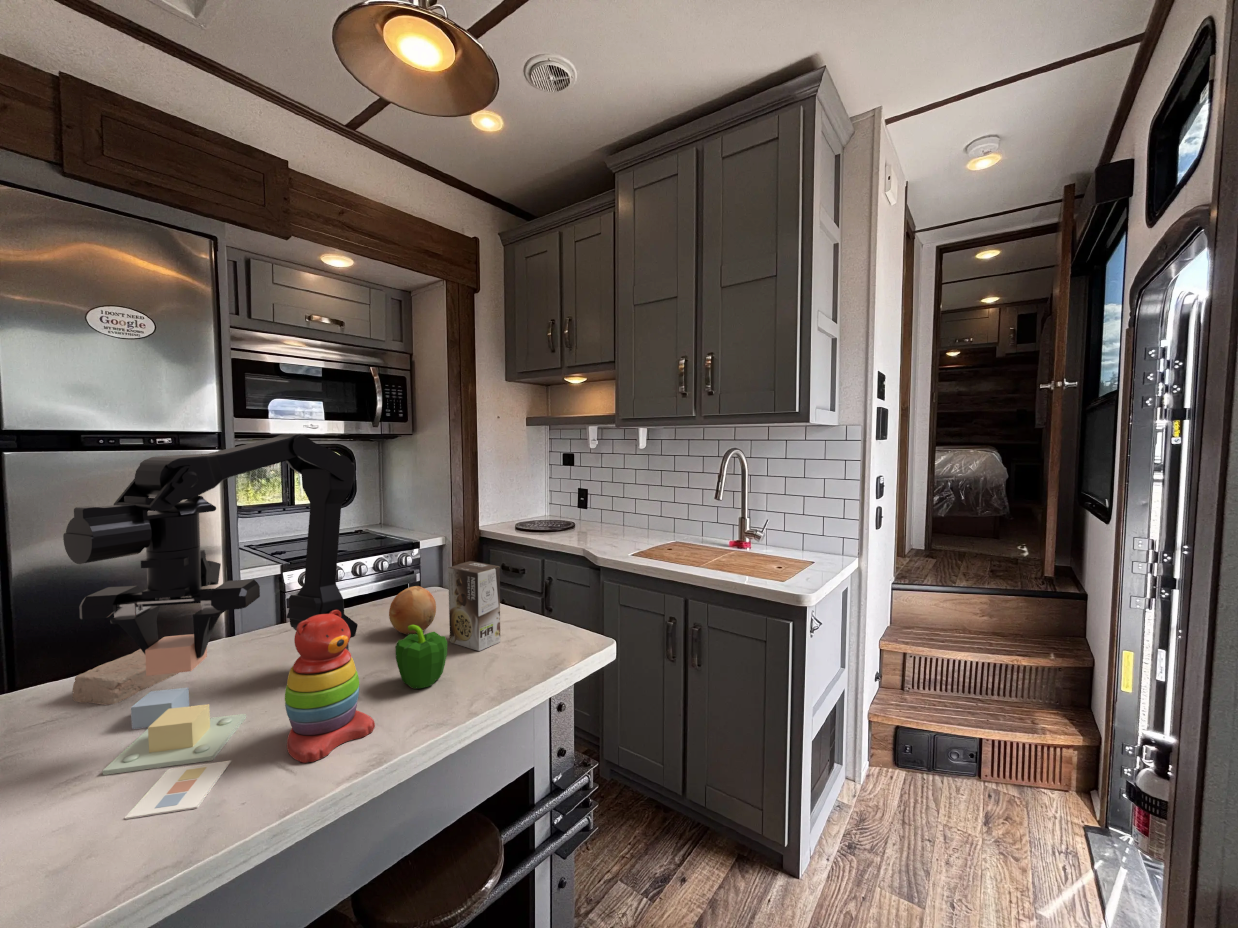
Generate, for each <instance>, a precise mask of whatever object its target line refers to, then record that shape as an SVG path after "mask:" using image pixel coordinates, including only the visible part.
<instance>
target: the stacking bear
mask: <svg viewBox="0 0 1238 928" xmlns="http://www.w3.org/2000/svg"><path fill="white" fill-rule="evenodd" d="M350 636H351V633H350V629H349V627H348V625H347V623H346V622H345V621H344V620H343V619H342V618H341V612H340V611H339V610H333V611H331V612H330V613H329V614H320V615H315V616H312V617H310V618H308V619H306V620H305V621H302V622H300V623H299V624H298V625H297V631H296V630H295V634H294V647H295V649H296V652H297V653H298V655H300V656H298V657H297V659H296V660H295V662H294V663H293V665H292V666H291V667H290V669H289V672H288V676H287V681H286V682H287V683H286V687H285V691H284V706H285V707H284V708H285V711H286V715H287V717H288V721H289V724H290V726H291V729H290V730H289V733H288V736H287V740H286V749H287V752H288V754H289V755H290V757H292V758H293V759H294V760H295V761H298V762H300V763H304V764H305V763H306V764H307V763H313V762H316V761H319V760H321V759H324V758H325V757H327V756H329V754H330V753H331V752H332V751H333V750H335V748H337V747H338V746H340V745H342V744H344V743H347V742H349V741H354V740H357V739H361V738H364V737H366V736H367V735H369V734H371V733H373V732H374V729H375V728H376V723H375V721H374V719H373V718H372V717H371V716H370V715H368V714H367V713H364V712H361V711H360V710H357V707H358V699H359V695H360V678H359V673H358V670H357V668H356V664H355V661H354V659H353V657H352V653H351V652H350V651H348V650H347V649H345V648H346V647H347V645H349V642H350V639H351V638H350Z"/></svg>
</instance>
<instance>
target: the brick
mask: <svg viewBox="0 0 1238 928" xmlns="http://www.w3.org/2000/svg"><path fill="white" fill-rule="evenodd" d="M178 674H179V673H170V674H161V675H151V676H146V657H145V654H144V652H143V651H142V650H141V649H140V648H139V649H138V650H136V651H134V652H132V653H130V654H126V655H124V656H121V657H118V658H116V659H114V660H112V661H108V662H105V663H103V664H101V665H98V666H96V667H94V668H92V669H89V670H87V671H85V672H83V673H79V674H78V675H76V676H75V677H74V682H73V684H72V700H73V701H74V702H76V703H88V704H89V703H91V704H98V705H103V706H104V705H105V706H106V705H107V706H109V705H115V704H119V703H120V702H122V701H124V700H127V699H129V698H131V697H133V696H135V695H137V694H138V693H140V692H142V691H144V690H148V689H149V688H151V687H153V686H155V685H157V684H159V683H162V682H164V681H166V680H167V679H169V678H171V677H173V676H174V677H175V676H176V675H178Z"/></svg>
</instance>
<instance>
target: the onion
mask: <svg viewBox="0 0 1238 928" xmlns="http://www.w3.org/2000/svg"><path fill="white" fill-rule="evenodd" d="M436 613H437V603H436V599H435V597H434V595H433V594H432V593H431V592H430V591H429V590H428V589H426V588H424V587H422V586H419V585H415V586H413V585H412V586H409V587H407V588H405V589H404V590H402V591H400V592H399V593H398V594H396V596H395V597H394V598H393V600H392V601H391V603H390V606H389V611H388V618H389V621H390V623H391V625H392V627H393V628H394V629H395V630H397V631H398V632H399V633H401V634H404V635H409V634H417V632H416V631H414V630H412V631H410V630H409V629H408V626H410V625H417V626H419V627H420V628H421V629H422V631H423V632H424V631H425V630H427V629H428V627H429V626H430V625H431V624H432V623H433V622H434V619H435V616H436Z"/></svg>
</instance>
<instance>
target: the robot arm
mask: <svg viewBox="0 0 1238 928" xmlns="http://www.w3.org/2000/svg"><path fill="white" fill-rule="evenodd" d="M283 462H285V463H286V464H287V465H288V466H289V468H291V469H292V470H293V471H295V472H297V473H298V474H300V475H301V485H302V486H301V487H302V490H303V492H304V493H305V495H306V498H307V499H308V501H309V515H308V517H309V518H308V529H307V543H306V545H307V546H306V557H305V569H304V580H303V581H304V582H303V585H302V586H301V588H300V590H299V591H298V593H297V594H290V595H289V598H288V612H287V615H286V617H285V618H286V619H289V625H290V627H291V628H292V629H293V630H294V631H295V632H296V631H297V625H298V624H299V623H300V622H302V621H305V620H306V619H308V618H310V617H312V616H315V615H320V614H329V613H330V612H331V611H333V610H339V611H340V612H341V618H342V619H343V620H344V621H345V622H346V623H347V625H348V627H349V629H350V633H351V636H350V639H352V638H354V637H355V636H356V634H357V630H358V627H359V625H358V623H357V622H355V621H354V620H353V619H351V618H350V617H348V615H346V613H345V603H344V598H343V596H342V593H341V591H340V589H339V587H338V585H337V569H338V556H339V543H340V527H341V517H342V516H341V513H342V506H343V505H342V504H343V503H344V501H345V499H346V498H347V497H348V495H349V494H350V493H351V491H352V488H353V483H354V480H355V474H356V471H355V468H356V467H355V463H354V462H352V460H351V459H350V458H349V457H348V456H346V455H344V454H343V455H342V454H338V453H337V452H336V451H335V450H332V449H329V448H328V447H325V446H323V445H320V444H319V443H316V442H314V441H313V440H311V439H310V438H309V437H307V436H305V435H304V434H297V433H291V434H290V433H289V434H288V433H284V434H279V435H277V436H275V437H271V438H267V439H263V440H259V441H255V442H251V443H247V444H243V445H238V446H234V447H230V448H226V449H221V450H217V451H213V452H209V453H208V452H207V453H197V454H196V453H195V454H194V453H193V454H177V455H173V454H172V455H162V456H152V457H149V458H146V459H144V460H143V461H140V462H139V466H138V467H137V469H136V470H135V473H134V478H133V480H132V481H131V482H130V483H129V484H128V485H127V487H126V488H125V489H124V491H123V492H121V494H120V495H119V497H118V498H117V499H116V501H115V502H114V503H113V505H106V506H105V505H102V506H90V505H88V506H85V505H84V506H77V507H76V506H75V508H73V517H72V518H71V519H70V520H69V522H68V524H67V526H66V529H65V532H64V533H63V539H62V540H63V545H64V549H65V553H66V554H67V556H68V558H69V559H70V560H71V561H72V562H73V563H75V564H77V565H83V564H89V563H94V562H100V561H101V562H102V561H106V560H107V561H108V560H111V559H112V560H114V559H116V558H117V559H118V558H123V557H129V556H135V555H139V554H140V553H141V552H142V551H143V550H144V549H146V551H145V552H146V553H145V555H146V556H145V557H146V558H144V559H141V560H140V569H146V579H147V581H146V583H147V588H146V589H145V590H142V589H141V588H140V587H139V586H138V585H128V586H127V585H126V586H108V587H105V588H103V589H101V590H98V591H96V592H94V593H91V594H89V595H87V596H85V597H84V598H83V599H82V600H81V602H80V604H79V607H78V609H79V619H80V620H95V619H96V620H97V619H107V618H109V617H110V616H112V615H113V616H114V617H112V618H110V619H109V620H110V621H109V622H110V624H112V625H116V624H117V625H119V626H120V627H121V628H122V630H124V632H125V633H127V634H128V635H129V637H131V638H132V640H133V641H134V642H135V643H136V644H137V647H139V649H141V650H142V651H143V652H144V654H145V650H146V649H148V648H149V647H151V646H152V645H153V644H155V643H156V642H158V641H159V633H158V624H157V622H158V621H157V618H158V615H159V611H160V609H161V606H172V605H173V606H174V605H188V604H189V605H191V604H200V607H201V608H200V610H198V611H196V612H195V613H193V614H192V625H193V634H194V644H195V652H196V656H197V658H201V657H202V656H203V655H204V653H205V650H206V648H207V649H208V644H209V642H210V639H211V637H212V635H213V632H214V629H215V626H216V625H217V622H218V621H219V619H220V616H221V615H222V614H223V613H225V612H226V611H229V610H230V611H232V610H241V609H245V608H247V607H249V605H252V603H254V602H255V601H257V599H259V598H260V597H261V594H260V593H261V592H260V590H261V589H260V587H261V586H260V584H259V583H258V582H257V580H255V579H238V580H235V579H234V580H226V581H225V582H224V583H223V582H222V584H220V585H219V580H220V579H219V578H220V572H221V563H219V562H218V561H217V562H216V561H212V560H207V558H206V557H207V556H206V551H205V549H201V533H200V532H201V531H200V530H201V529H200V528H201V527H200V514H203V513H204V514H205V513H209V512H211V513H212V512H215V511H216V510H217V507H216V506H215V505H213V504H212V503H210V502H209V501H207V500H206V499H205V498H204V497H203V495H202V494H205V493H206V492H209V491H211V490H213V489H215V488H216V487H217V486H219V484H221V483H222V482H223V481H225V480H227V479H229V478H232V477H235V476H238V475H242V474H245V473H250V472H252V471H257V470H259V469H262V468H266V467H270V466H273V465H277V464H279V463H283ZM183 500H184V501H183ZM215 585H216V586H217V585H219V586H217V587H215V588H203V587H208V586H215ZM349 647H350V645H349V644H348V645H347V647H346V648H345V649H347V650H348V651H349V650H350V649H349ZM349 652H350V651H349Z"/></svg>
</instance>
